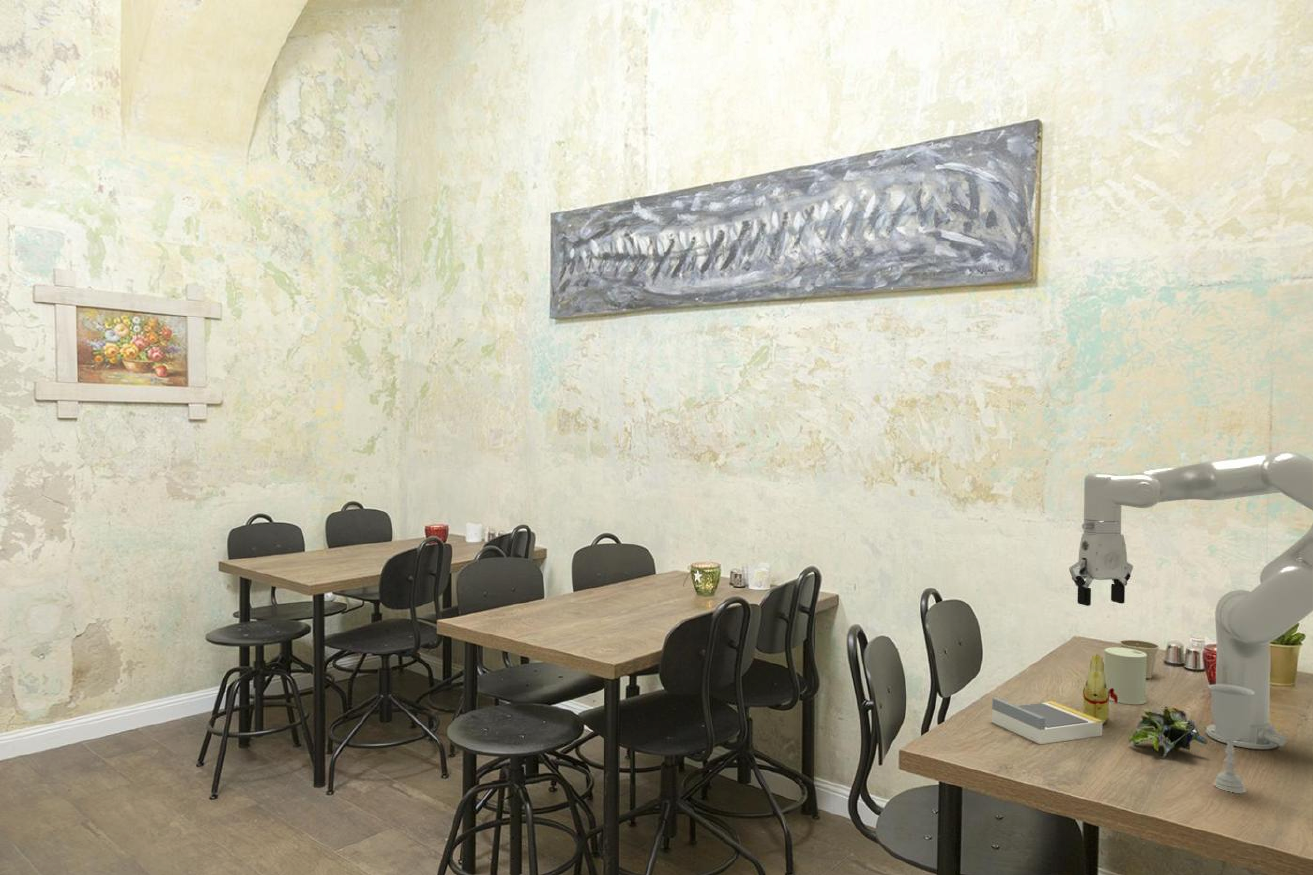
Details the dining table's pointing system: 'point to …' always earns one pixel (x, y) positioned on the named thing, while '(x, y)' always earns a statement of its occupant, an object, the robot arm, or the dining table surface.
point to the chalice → (1230, 727)
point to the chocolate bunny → (1097, 691)
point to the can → (1126, 674)
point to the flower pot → (1146, 648)
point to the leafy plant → (1167, 730)
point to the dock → (1045, 721)
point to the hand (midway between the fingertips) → (1100, 603)
